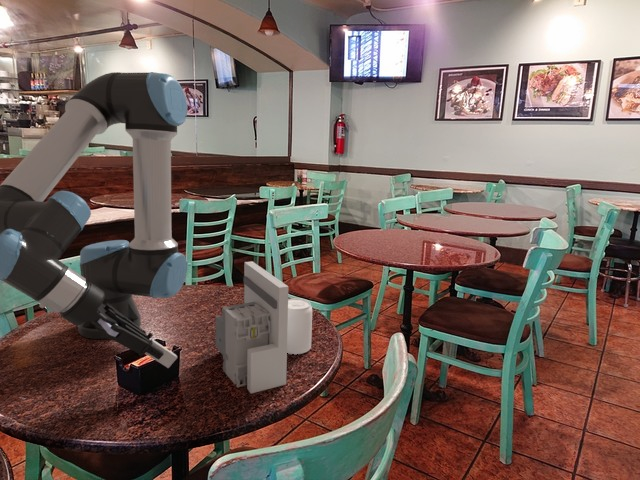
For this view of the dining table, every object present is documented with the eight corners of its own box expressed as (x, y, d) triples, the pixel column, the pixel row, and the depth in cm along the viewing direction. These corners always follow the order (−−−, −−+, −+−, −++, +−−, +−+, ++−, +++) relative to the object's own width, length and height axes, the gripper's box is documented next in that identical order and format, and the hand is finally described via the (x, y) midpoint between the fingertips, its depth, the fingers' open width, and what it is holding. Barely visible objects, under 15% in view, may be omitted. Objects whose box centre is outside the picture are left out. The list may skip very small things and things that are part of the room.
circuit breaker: (243, 351, 110) (243, 293, 107) (269, 378, 98) (270, 314, 95) (213, 358, 106) (212, 298, 103) (237, 387, 94) (237, 320, 91)
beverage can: (274, 343, 115) (275, 299, 112) (304, 339, 118) (306, 296, 115) (283, 358, 107) (284, 311, 105) (315, 354, 110) (317, 307, 107)
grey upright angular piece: (220, 352, 109) (219, 264, 104) (251, 345, 113) (252, 261, 108) (250, 393, 92) (251, 291, 87) (286, 384, 96) (288, 286, 91)
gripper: (57, 301, 86) (153, 361, 98) (58, 327, 75) (166, 391, 87) (86, 271, 87) (177, 334, 99) (91, 292, 76) (192, 360, 88)
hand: (172, 361), depth 93 cm, fingers closed
